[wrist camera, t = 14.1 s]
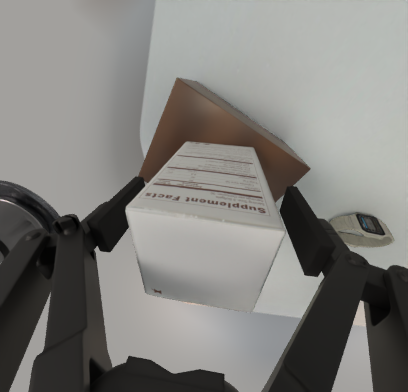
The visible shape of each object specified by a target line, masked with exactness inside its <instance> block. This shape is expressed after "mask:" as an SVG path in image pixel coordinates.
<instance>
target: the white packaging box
mask: <svg viewBox="0 0 408 392" xmlns="http://www.w3.org/2000/svg"><path fill="white" fill-rule="evenodd" d="M125 212H126V216H127V220H128V225H129V228H130V231H131V236H132V240H133V244H134V248H135V252H136V256H137V261H138V265H139V268H140V272H141V276H142V280H143V285H144V288H145V293H147V294H149V295H153V296H157V297H162V298H167V299H172V300H178V301H184V302H189V303H196V304H201V305H207V306H213V307H218V308H224V309H229V310H235V311H242V312H252V311H253V309H254V307H255V304H256V302H257V300H258V297H259V295H260V293H261V290H262V288H263V286H264V283H265V281H266V278H267V276H268V274H269V271H270V269H271V267H272V264H273V262H274V259H275V257H276V255H277V252H278V250H279V248H280V245H281V243H282V240H283V238H284V236H285V234H286V230H285V228H284V226H283V223H282V221H281V218H280V215H279V212H278V209H277V207H276V205H275V202H274V200H273V197H272V194H271V191H270V189H269V186H268V183H267V180H266V178H265V175H264V173H263V170H262V168H261V165H260V162H259V160H258V157H257V155H256V152H255V149H254V148H253V147H243V146H233V145H222V144H211V143H200V142H188V141H187V142H185V143H184V144H183V146H182V147H181V148H180V149H179V150H178V151H177V152H176V153H175V154H174V155H173V156H172V158H171V159H170V160H169V161H168V162H167V163H166V164H165V165H164V166H163V167H162V169H161V170H160V171H159V172H158V173H157V174H156V175H155V176H154V177H153V178H152V179H151V181H150V182H149V183H148V184H147V185H146V186H145V187H144V188H143V189H142V190H141V191H140V193H139V194H138V195H137V196H136V197H135V198H134V199H133V200H132V201H131V202H130V203H129V204H128V205H127V206H126V210H125Z"/></svg>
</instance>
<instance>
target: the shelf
mask: <svg viewBox="0 0 408 392" xmlns="http://www.w3.org/2000/svg"><path fill="white" fill-rule="evenodd" d="M187 141H188V142H200V143H211V144H222V145H233V146H243V147H253V148H254V149H255V152H256V155H257V157H258V160H259V162H260V165H261V168H262V170H263V173H264V175H265V178H266V180H267V183H268V186H269V189H270V191H271V194H272V197H273V200H274V202H276V201H277V200H278V199H280V198H281V197H282V196H283V195H284V194H285V191H286V188H287V186H293V185H294V184H295V183H296V182H297V181H299V180H300V179H301V178H302V177H303V176H304V175H305V174H306V173H307V172H308V171H309V170H310V167H309V166H308V165H307V164H306V163H305V162H304V161H303V160H302V159H301V158H300V157H299V156H298V155H297V154H296V153H295V152H294V151H293V150H292V149H291V148H290V147H289V146H288V145H287V144H286V143H285V142H283V141H282V140H280V139H279V138H278V137H276V136H275V135H273V134H272V133H270V132H269V131H267V130H266V129H265V128H263V127H262V126H260V125H259V124H257V123H256V122H254V121H253V120H252V119H250V118H249V117H247V116H246V115H244V114H243V113H241V112H240V111H239V110H237V109H236V108H234V107H233V106H231V105H230V104H228V103H227V102H226V101H224V100H223V99H221V98H220V97H218V96H217V95H216V94H214V93H213V92H211V91H210V90H208V89H207V88H205V87H204V86H203V85H201V84H200V83H198V82H197V81H192V80H187V79H182V78H176V81H175V84H174V86H173V89H172V91H171V94H170V96H169V99H168V101H167V104H166V107H165V109H164V112H163V114H162V117H161V119H160V122H159V124H158V127H157V130H156V132H155V135H154V137H153V140H152V142H151V145H150V148H149V150H148V153H147V155H146V158H145V160H144V163H143V166H142V168H141V171H140V173H139V176H138V177H143V178H144V181H145V182H147V183H149V182H150V181H151V179H152V178H153V177H154V176H155V175H156V174H157V173H158V172H159V171H160V170H161V169H162V167H163V166H164V165H165V164H166V163H167V162H168V161H169V160H170V159H171V158H172V156H173V155H174V154H175V153H176V152H177V151H178V150H179V149H180V148H181V147H182V146H183V144H184V143H185V142H187Z"/></svg>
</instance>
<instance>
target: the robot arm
mask: <svg viewBox="0 0 408 392" xmlns="http://www.w3.org/2000/svg"><path fill="white" fill-rule="evenodd" d="M144 187H145V183H144V178H143V177H135V178H134V179H132V180H131V181H130V182H129V183H128V184H127V185H126V186H125V187H124V188H123V189H122V190H120V191H119V192H118V193H117V194H116V195H115V196H114V197H113V198H112V199H111V200H110V201H108V202H105V203H103V204H101V205H99V206H98V207H97V208H96V209H95V210H94V211H93V212H92V213H90V214H89V215H88V216H87V217H86V218H85V219H84V220H82V221H81V222H80V221H79V219H78V217H77V216H76V215H74V214H69V215H65V216H62V217H60V218H58V219H56V220H55V221H54V222H53V223H52V226H53V227H54V229H55V230H56V232H57V233H51V234H49V229H48V226H47V224H46V222H45V221H44V219H43V218H42V217H41V216H40V215H39V214H38V213H37V212H36V211H35V210H34V209H32V208H31V207H30V206H28V205H26V204H25V203H23V202H21V201H19V200H16V199H14V198H10V197H5V196H0V263H1V262H2V263H1V264H0V392H9V390H10V388H11V385H12V383H13V380H14V378H15V376H16V373H17V371H18V369H19V366H20V364H21V361H22V359H23V357H24V354H25V352H26V349H27V347H28V345H29V342H30V340H31V337H32V335H33V332H34V330H35V328H36V325H37V323H38V320H39V318H40V316H41V313H42V311H43V309H44V306H45V304H46V302H47V299H48V297H49V294H50V292H51V297H50V306H49V314H48V322H47V330H46V338H45V346H44V350H43V352H42V353H41V354H39V355H37V357H36V359H35V360H34V363H33V367H32V373H31V379H30V386H29V392H238V390H237V389H235V388H234V387H233V386H232V385H231V384H230V383H228V382H226V381H225V380H224V374H222V373H217V372H211V371H206V370H201V369H199V370H194V371H188V372H182V373H177V374H173V373H171V372H169V371H167V370H166V369H164V368H163V367H161V366H160V365H158V364H156V363H155V362H153V361H151V360H147V359H143V358H137V357H132V356H129V357H128V359H127V362H126V363H123V364H120V365H118V366H115V367H113V368H112V363H111V360H110V357H109V354H108V350H107V342H106V334H105V326H104V318H103V310H102V301H101V293H100V285H99V277H98V269H97V261H96V253H95V251H94V249H95V248H96V246H98V247H99V250H100V251H103V252H111V251H112V249H113V248H114V246H115V245H116V244H117V243H118V241H119V240H120V238H121V237H122V236H123V234H124V233H125V232H126V230H127V229H128V228H129V225H128V220H127V216H126V212H125V210H126V206H127V205H128V204H129V203H130V202H131V201H132V200H133V199H134V198H135V197H136V196H137V195H138V194H139V193H140V191H141V190H142V189H143V188H144ZM280 214H281V216H282V219H283V221H284V224H285V226H286V229H287V232H288V234H289V237H290V239H291V242H292V244H293V247H294V249H295V252H296V254H297V257H298V259H299V262H300V264H301V267H302V269H303V272H304V275H306V276H314V277H318V276H319V274H320V273H321V271H322V273H323V275H324V279H323V280H322V282H321V283H320V285H319V288H318V290H317V291H316V293H315V295H314V297H313V299H312V301H311V302H310V304H309V306H308V308H307V310H306V312H305V313H304V315H303V317H302V319H301V321H300V323H299V324H298V326H297V328H296V330H295V332H294V334H293V336H292V338H291V339H290V341H289V343H288V345H287V346H286V348H285V350H284V352H283V354H282V356H281V357H280V359H279V361H278V363H277V365H276V367H275V369H274V371H273V372H272V374H271V376H270V378H269V380H268V381H267V383H266V385H265V386H264V388H263V390H262V392H331V390H332V387H333V384H334V381H335V378H336V375H337V371H338V368H339V365H340V362H341V358H342V356H343V352H344V349H345V346H346V343H347V339H348V336H349V333H350V330H351V327H352V324H353V321H354V318H355V315H356V311H357V308H358V305H359V302H360V300H361V301H364V309H365V319H366V328H367V337H368V346H369V355H370V364H371V374H372V382H373V391H374V392H408V269H407V268H405V267H401V266H398V265H392V266H390V267H389V268H388V269H387V270H385V269H382V268H379V267H376V266H372V265H370V264H369V263H368V261H367V260H366V259H365V258H363V257H362V256H360V255H359V254H357V253H355V252H352V251H350V250H349V248H348V247H347V246H346V244H345V243H344V242H343V240H342V239H341V237H340V236H339V235H338V233H337V232H336V231H335V229H334V228H333V227H332V225H331V224H330V223H329V222H327V221H326V220H325V219H318V218H317V217H316V215H315V214H314V212H313V211H312V209H311V208H310V206H309V205H308V203H307V202H306V200H305V199H304V197H303V196H302V194H301V193H300V191H299V190H298V188H297V187H294V186H287V188H286V191H285V195H284V198H283V201H282V205H281V208H280Z"/></svg>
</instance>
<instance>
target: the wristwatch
mask: <svg viewBox="0 0 408 392" xmlns="http://www.w3.org/2000/svg"><path fill="white" fill-rule="evenodd" d="M330 224H331V225H332V227H333V228H334V229H335V231H336V232H337V233H338V235H339V236H340V237H341V239H342V240H343V242H344V243H345V244H347V245H349V246H352V247H382V246H386V245H389V244H391V243H393V242H394V238H393V236H392V234H391V233H390V231H389V229H388V228H387V226H386V225H385V224H384V223H383V222H382V221H381V220H379V219H377V218H375V217H373V216H371V215H367V214H361V213H355V214H354V215H349V216H340V217H337V218H334V219H333V220H331V221H330ZM347 229H349V230H355V231H358V232H360V233H361V234H363V235H364V236H355V235H352V234H348V233H342V232H339V231H340V230H347Z"/></svg>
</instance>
